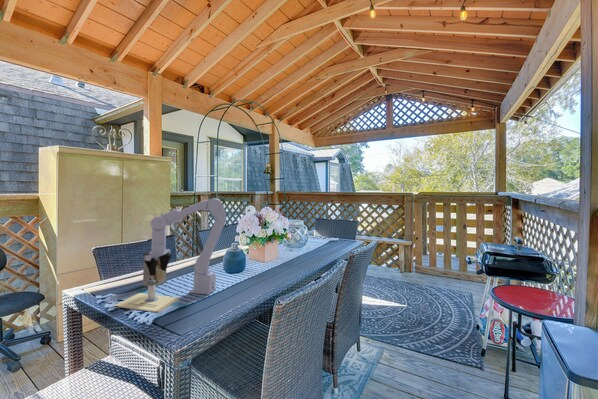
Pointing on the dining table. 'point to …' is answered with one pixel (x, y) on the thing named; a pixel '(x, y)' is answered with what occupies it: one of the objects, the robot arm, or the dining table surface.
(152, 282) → the marker
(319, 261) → the dining table surface
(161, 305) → the writing pad
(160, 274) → the coffee box
